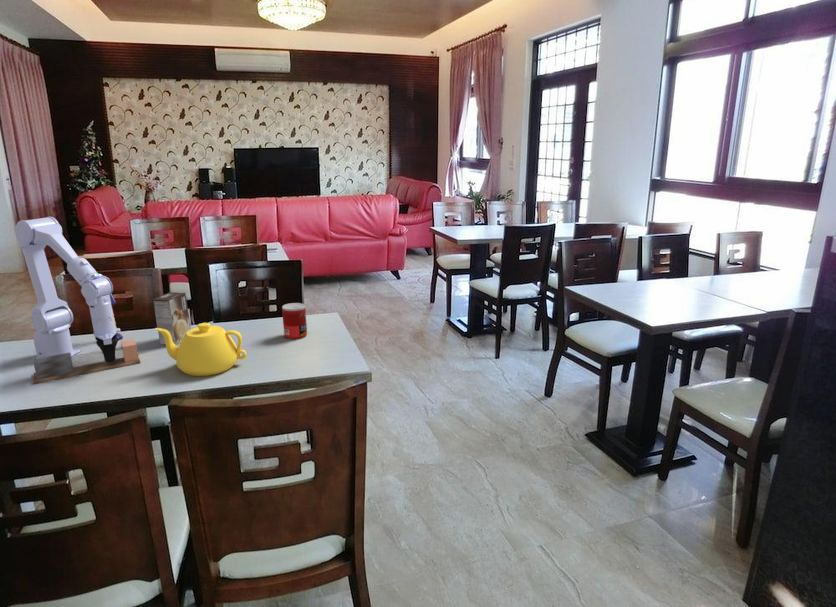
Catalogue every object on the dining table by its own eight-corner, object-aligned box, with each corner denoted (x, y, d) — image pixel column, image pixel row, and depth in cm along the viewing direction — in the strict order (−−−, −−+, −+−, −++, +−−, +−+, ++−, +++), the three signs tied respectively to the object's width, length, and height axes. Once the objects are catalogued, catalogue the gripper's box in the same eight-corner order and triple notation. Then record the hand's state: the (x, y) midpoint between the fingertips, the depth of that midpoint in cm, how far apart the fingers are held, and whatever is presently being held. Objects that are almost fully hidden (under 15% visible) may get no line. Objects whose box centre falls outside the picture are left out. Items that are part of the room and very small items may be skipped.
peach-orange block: (125, 362, 167) (122, 347, 165) (123, 357, 171) (120, 341, 170) (138, 360, 169) (136, 344, 167) (136, 354, 173) (134, 339, 172)
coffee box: (176, 335, 192) (169, 291, 187) (192, 336, 190) (186, 292, 186) (159, 344, 183) (152, 299, 178) (176, 345, 182) (169, 300, 177)
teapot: (153, 381, 155) (145, 337, 151) (169, 358, 172) (163, 317, 168) (243, 375, 159) (238, 331, 155) (251, 353, 176) (247, 312, 172)
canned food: (304, 339, 187) (302, 309, 184) (281, 339, 187) (279, 309, 184) (309, 332, 194) (307, 302, 191) (287, 332, 194) (284, 302, 191)
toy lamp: (112, 342, 185) (103, 295, 180) (104, 340, 187) (95, 293, 183) (125, 338, 189) (117, 292, 184) (117, 335, 191) (109, 290, 187)
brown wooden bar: (33, 384, 154) (29, 366, 152) (34, 374, 160) (30, 357, 159) (140, 363, 168) (137, 346, 166) (137, 354, 174) (134, 339, 173)
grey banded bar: (62, 369, 159) (60, 360, 158) (61, 366, 161) (60, 357, 160) (134, 356, 169) (132, 347, 168) (132, 353, 171) (131, 344, 170)
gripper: (119, 321, 159) (127, 364, 163) (115, 309, 171) (122, 349, 175) (92, 326, 155) (100, 369, 159) (89, 313, 167) (97, 354, 171)
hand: (110, 359), depth 167 cm, fingers closed on grey banded bar, 3 cm apart
